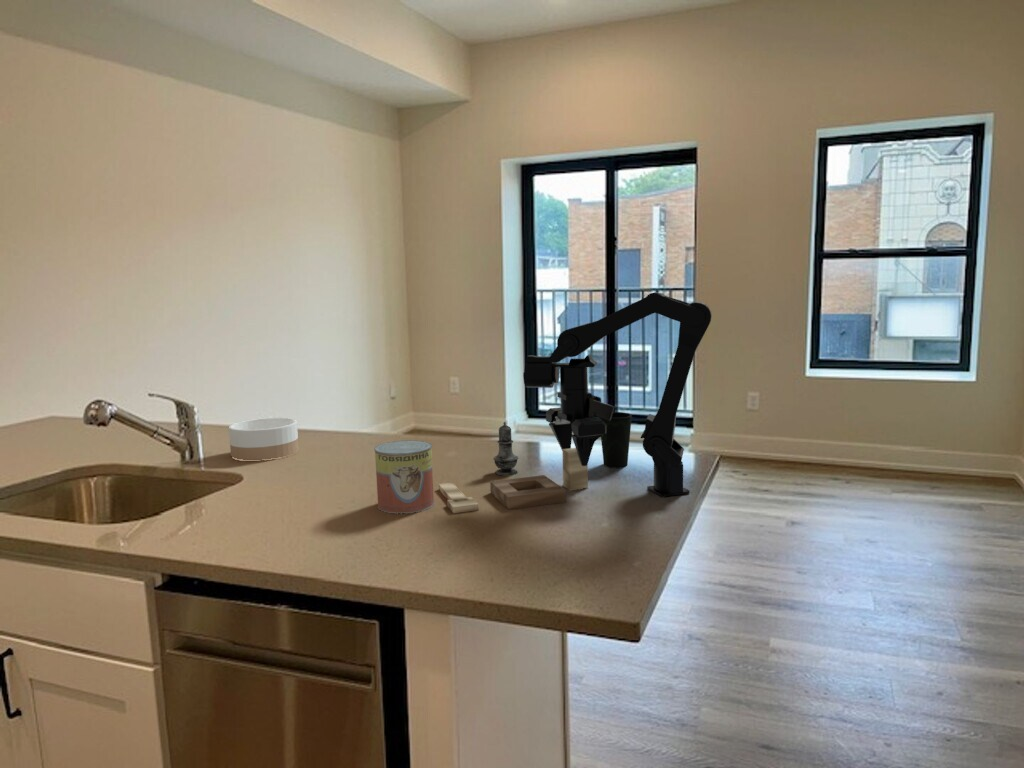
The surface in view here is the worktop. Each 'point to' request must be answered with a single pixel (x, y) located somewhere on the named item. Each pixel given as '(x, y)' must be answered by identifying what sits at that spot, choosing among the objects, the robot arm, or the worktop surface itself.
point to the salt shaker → (505, 453)
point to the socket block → (527, 491)
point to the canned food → (404, 476)
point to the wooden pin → (574, 470)
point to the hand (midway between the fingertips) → (575, 460)
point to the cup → (616, 440)
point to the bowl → (263, 438)
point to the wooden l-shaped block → (457, 499)
